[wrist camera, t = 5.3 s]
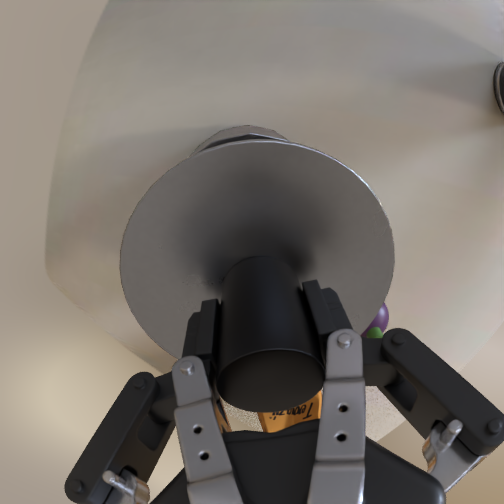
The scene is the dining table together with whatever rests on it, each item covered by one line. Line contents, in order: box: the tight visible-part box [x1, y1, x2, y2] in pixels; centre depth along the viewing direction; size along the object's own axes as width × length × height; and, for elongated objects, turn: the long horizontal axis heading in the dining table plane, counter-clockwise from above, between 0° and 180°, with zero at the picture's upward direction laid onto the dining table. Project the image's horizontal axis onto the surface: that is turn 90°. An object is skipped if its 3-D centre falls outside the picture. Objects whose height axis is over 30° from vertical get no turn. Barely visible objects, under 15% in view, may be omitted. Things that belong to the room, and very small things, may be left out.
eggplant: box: [360, 303, 389, 338], centre depth 32 cm, size 5×5×12 cm
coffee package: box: [257, 390, 322, 433], centre depth 35 cm, size 10×12×22 cm
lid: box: [120, 139, 395, 413], centre depth 13 cm, size 15×15×7 cm
